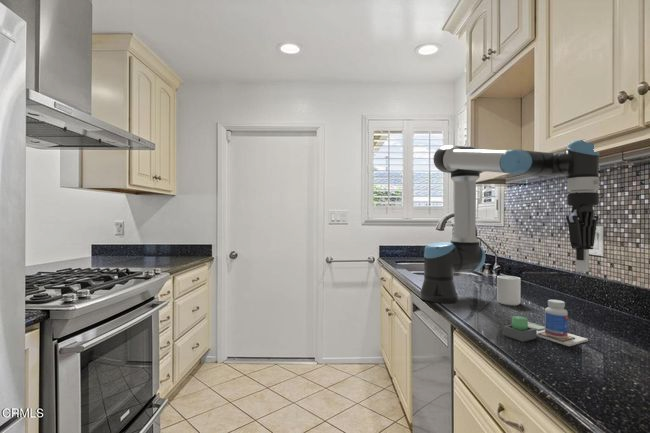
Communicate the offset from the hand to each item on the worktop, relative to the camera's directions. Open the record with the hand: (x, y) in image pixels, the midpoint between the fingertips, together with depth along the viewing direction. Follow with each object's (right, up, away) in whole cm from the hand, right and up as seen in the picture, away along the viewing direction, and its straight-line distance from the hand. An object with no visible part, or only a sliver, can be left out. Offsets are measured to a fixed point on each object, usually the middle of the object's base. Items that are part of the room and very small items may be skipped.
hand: (582, 270), depth 103 cm
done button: (-21, -17, -4) cm, 27 cm away
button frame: (-21, -18, -4) cm, 28 cm away
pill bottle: (-12, -18, -6) cm, 22 cm away
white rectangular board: (-12, -18, -2) cm, 22 cm away
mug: (-3, -19, +36) cm, 40 cm away
